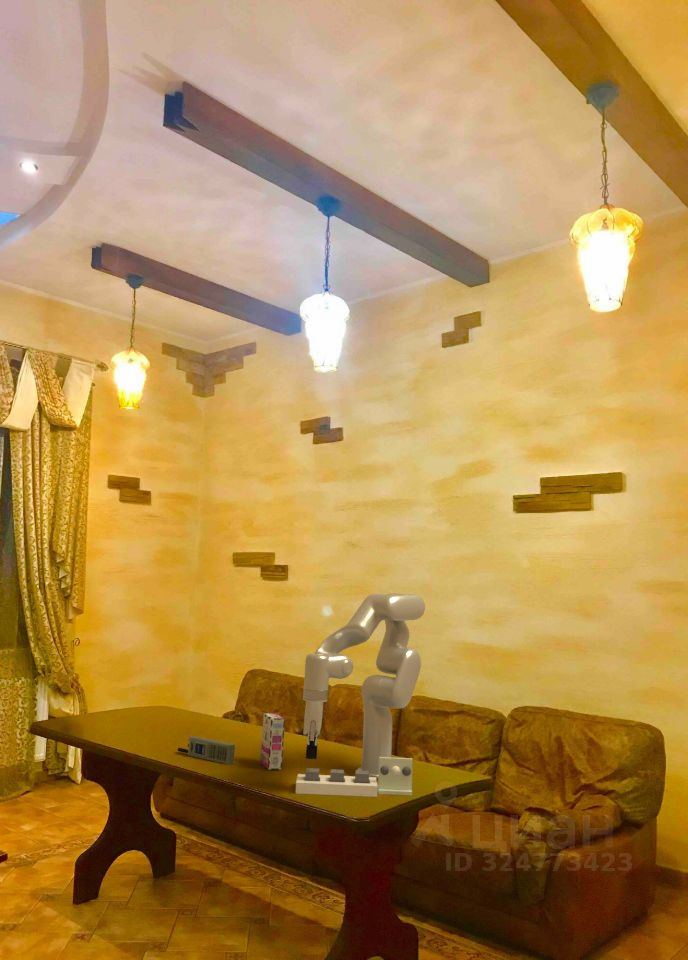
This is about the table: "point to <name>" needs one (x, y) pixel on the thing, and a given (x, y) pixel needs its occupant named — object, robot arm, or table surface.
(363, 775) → the right button
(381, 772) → the pattern placard
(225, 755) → the handheld radio
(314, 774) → the left button
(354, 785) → the button board
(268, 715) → the candy bar box
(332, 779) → the middle button
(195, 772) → the table surface
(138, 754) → the table surface
